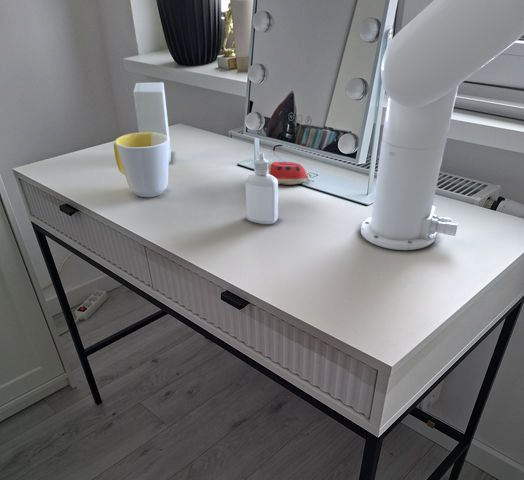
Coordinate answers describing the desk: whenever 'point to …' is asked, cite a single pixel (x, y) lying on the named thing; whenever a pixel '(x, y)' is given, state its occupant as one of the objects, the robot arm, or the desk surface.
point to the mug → (143, 162)
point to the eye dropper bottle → (261, 193)
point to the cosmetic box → (151, 109)
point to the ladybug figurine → (288, 172)
